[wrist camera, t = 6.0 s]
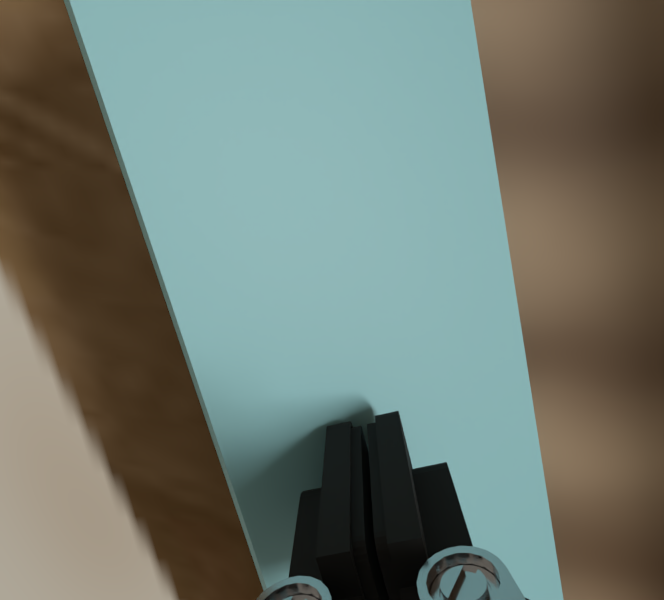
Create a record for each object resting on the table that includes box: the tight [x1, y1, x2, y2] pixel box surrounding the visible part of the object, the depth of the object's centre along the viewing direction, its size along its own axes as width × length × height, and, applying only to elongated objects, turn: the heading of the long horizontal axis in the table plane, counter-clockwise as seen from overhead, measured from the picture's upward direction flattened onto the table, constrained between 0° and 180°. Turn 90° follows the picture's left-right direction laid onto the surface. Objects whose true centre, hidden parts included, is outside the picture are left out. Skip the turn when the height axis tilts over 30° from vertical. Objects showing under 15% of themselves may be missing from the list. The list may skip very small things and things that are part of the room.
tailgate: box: [64, 0, 563, 600], centre depth 13 cm, size 24×1×8 cm
